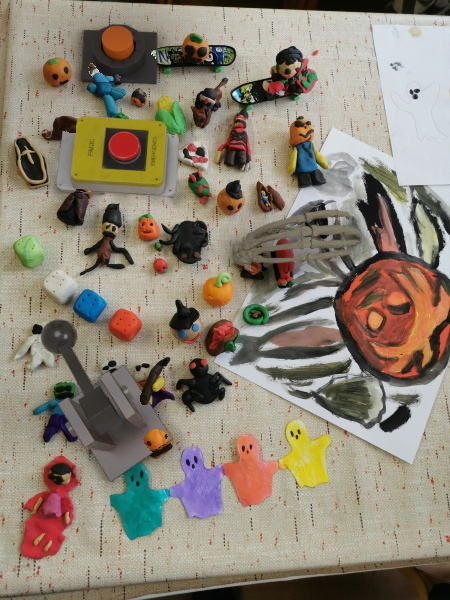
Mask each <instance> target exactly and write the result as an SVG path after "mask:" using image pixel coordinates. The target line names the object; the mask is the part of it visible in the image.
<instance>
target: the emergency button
mask: <svg viewBox="0 0 450 600" xmlns="http://www.w3.org/2000/svg"><path fill="white" fill-rule="evenodd" d="M167 132H168V127H167V125H166V124H165V122H164V121H161V120H148V119H135V118H134V119H133V118H118V117H103V116H102V117H101V116H91V115H90V116H88V115H87V116H86V115H82V116H80V117H78V118H77V120H76V133H69V132H67V131H66V132H65V131H63V130H62V133H61V142H60V150H59V157H58V165H57V173H56V179H55V180H56V182H55V183H56V187H57V189H58V190H59V191H60V192H63V193H72V194H73V193H74V192H75V191H76V189H87V190H90V191H91V192H83V191H80V192H83V193H82V194H89V195H105V194H118V195H132V196H134V195H135V196H150V197H151V196H152V197H165V198H166V197H169V198H170V199H171V198H174V196H176V194H177V183H178V167H179V166H178V165H179V149H180V139H179V135H178V134H177V133H176V134H175V135H171V134H169V133H167ZM74 194H75V193H74Z"/></svg>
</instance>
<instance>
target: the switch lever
mask: <svg viewBox="0 0 450 600" xmlns="http://www.w3.org/2000/svg"><path fill="white" fill-rule="evenodd" d="M40 341H41V345H42V346H43V348H44V349H45V350H46V351H47V352H48V353H50V354H53V355H61V356H62V357H63V360H64V362H65V363H66V365H67V367H68V368H69V371H70V373H71V374H72V376H73V378H74V380H75V382H76V383H77V385H78V387H79V389H80V391H81V393H83V395H84V396H83V397H82V398H80V399H79V400H78V401H79V403H80V405H81V407H82V409H83V411H84V413H85V415H86V417H87V419H88V421H89V422H90V423H91V424H92V426H93V427H94V428H95V429H96V431H97V432H98V433H99V434H100V435H102V434H103V433H105V432H106V431H108V430H109V429H111V428H112V427H114V426H115V425H117V424H118V423H120V422H121V421H122V420H121V418H120V416H119V414H118V413H117V411H116V409H115V408H114V406H113V404H112V403H111V401H110V399H109V398H108V397H107V395H106V394H105V393H104V391H103V390H102V388H101V387H100V386H99V387H97V388H95V387H94V383H93V381H92V380H91V378H90V376H89V374H88V373H87V371H86V369H85V368H84V366H83V364H82V362H81V361H80V359H79V356H78V355H77V353H76V352H75V350H74V347H75V346H76V344H77V341H78V331H77V329H76V327H75V326H74V324H73V323H72V322H70V321H68V320H66V319H62V318H55V319H52V320H50V321H48V322H47V323H46V324H45V325H44V327H43V328H42V330H41V333H40Z"/></svg>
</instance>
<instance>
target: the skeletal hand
mask: <svg viewBox="0 0 450 600" xmlns="http://www.w3.org/2000/svg"><path fill="white" fill-rule="evenodd" d="M327 218H331V219H332V218H335V219H339V218H345V219H346V220H350V218H351V214H350V212H349V211H344V210H339V209H338V208H336V209H323V210H316V211H308V212H304V213H303V214H298V213H296V214H295V215H293V216H290V217H287V218H282V219H279V220H275V221H272V222H269V223H266V224H263V225H261V226H260V227H258V228H256V229H255V230H252V231H250V232H248V233H247V234H246V235H245V236H242V239H241V243H238V242H237V243H236V242H235V243H233V248H232V252H233V255H234V256H233V261H234V264H236V265H238V266H242V267H243V268H244V270H246V271H248V269H250V268H251V264H252V263H256V264H261V263H266V264H285V263H293V262H298V263H305V262H307V263H312V261H320V260H321V261H324V260H329V259H333V258H334V259H337V258H338V257H341V258H342V257H346V256H348V255H352V254H353V251H352V250H346V249H345V248H347V247H355V246H356V245H357V244H360V243H361V242H360V241H361V240H360V239H362V234H361V231H359V229H357V228H355V227H351V226H347V225H345V224H343V225H340V224H328V225H316V224H312V225H310V227H309V226H307V225H303V224H304V223H306V224H310V223H311V222H312V221H313V220H317V219H327ZM291 224H296V225H297V226H299V227H297V228H294V227H291V226H288V225H291ZM278 230H281V231H284V232H278V233H275V232H276V231H278ZM273 233H274V234H273ZM264 234H266V235H267V236H264V237H260V236H262V235H264ZM320 235H321V236H333V235H339V236H343V237H346V236H349V235H350V236H352V235H355V238H357V239H359V240H356V239H350V240H348V239H345V238H340V239H330V240H317V239H315V238H317V237H318V236H320ZM258 237H260V238H258ZM293 237H298V238H301V239H299V240H297V241H296V242H290V243H283V244H275V245H269V246H268V245H267V246H261V245H263V244H266V243H269V242H273V241H276V240H280V239H285V238H286V239H287V238H293ZM319 248H320V249H331V250H329V251H325V252H324V251H323V252H319V253H306V254H305V255H304V254H298V255H296V256H293V257H292V256H291V257H265V256H262V255H261V254H265V253H269V252H271V253H272V252H276V251H285V250H298V249H299V250H305V249H310V250H314V249H319ZM332 249H334V250H332ZM250 272H251V273H255V272H256V271H250Z"/></svg>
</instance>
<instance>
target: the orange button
mask: <svg viewBox="0 0 450 600" xmlns="http://www.w3.org/2000/svg"><path fill="white" fill-rule="evenodd" d="M102 43H103V48H104V52H105V54H106V55H107V56H108V57H110V58H111V59H114V60H123V59H126V58H128V57H129V56H130V55H131V54H132V53H133V50H134V44H133V37H132V34H131V32H130V31H129V30H128V29H126V28H125V27H122V26H112V27H110V28H108V29H106V30H105V31H104V33H103V35H102Z"/></svg>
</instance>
